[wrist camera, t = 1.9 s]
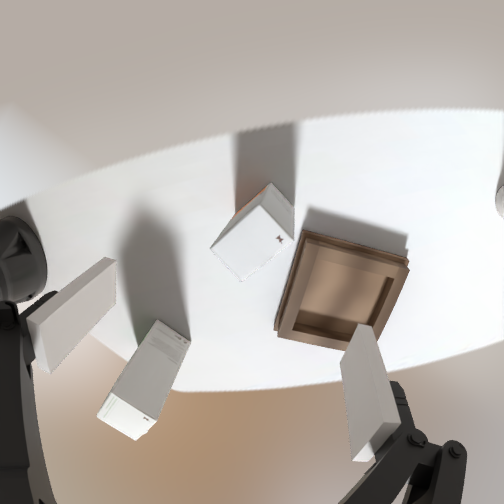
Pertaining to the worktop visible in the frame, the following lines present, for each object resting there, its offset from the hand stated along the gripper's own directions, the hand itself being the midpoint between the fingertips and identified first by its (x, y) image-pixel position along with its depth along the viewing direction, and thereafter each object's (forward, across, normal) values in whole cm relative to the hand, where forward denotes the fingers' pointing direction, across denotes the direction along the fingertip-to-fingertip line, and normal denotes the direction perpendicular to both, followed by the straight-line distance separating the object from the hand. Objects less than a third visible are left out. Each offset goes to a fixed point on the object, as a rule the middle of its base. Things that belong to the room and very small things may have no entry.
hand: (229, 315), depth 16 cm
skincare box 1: (+23, +10, +24) cm, 35 cm away
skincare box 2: (+23, 0, 0) cm, 23 cm away
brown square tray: (+23, -12, +8) cm, 27 cm away
